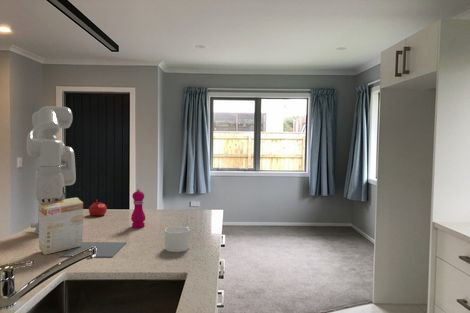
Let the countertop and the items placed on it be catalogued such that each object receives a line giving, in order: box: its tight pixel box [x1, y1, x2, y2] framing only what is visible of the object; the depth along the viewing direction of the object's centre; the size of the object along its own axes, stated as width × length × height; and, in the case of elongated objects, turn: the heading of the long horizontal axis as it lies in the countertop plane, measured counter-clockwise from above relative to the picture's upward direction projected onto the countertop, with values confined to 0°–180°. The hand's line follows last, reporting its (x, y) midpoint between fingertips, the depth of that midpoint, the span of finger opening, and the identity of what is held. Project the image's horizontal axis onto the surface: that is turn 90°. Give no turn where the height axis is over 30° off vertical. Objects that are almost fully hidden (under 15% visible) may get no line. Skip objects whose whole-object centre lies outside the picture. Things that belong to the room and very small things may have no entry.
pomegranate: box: [88, 199, 108, 217], centre depth 217 cm, size 10×10×9 cm
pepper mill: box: [130, 187, 146, 229], centre depth 192 cm, size 7×7×20 cm
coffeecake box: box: [38, 197, 84, 256], centre depth 149 cm, size 15×7×20 cm, turn 135°
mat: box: [59, 241, 127, 258], centre depth 152 cm, size 20×19×1 cm
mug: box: [164, 226, 191, 253], centre depth 156 cm, size 13×10×8 cm
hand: (51, 215), depth 151 cm, fingers closed
